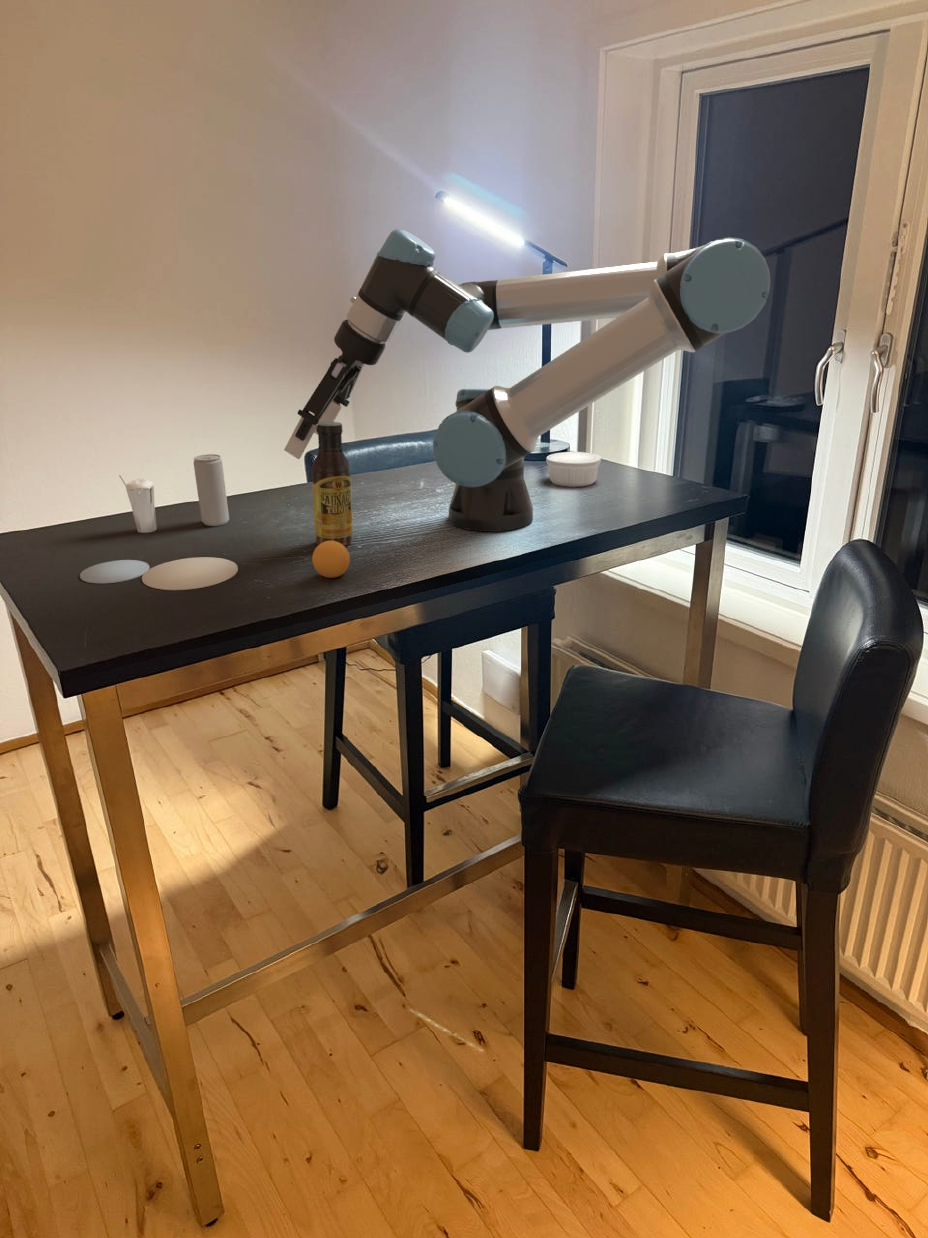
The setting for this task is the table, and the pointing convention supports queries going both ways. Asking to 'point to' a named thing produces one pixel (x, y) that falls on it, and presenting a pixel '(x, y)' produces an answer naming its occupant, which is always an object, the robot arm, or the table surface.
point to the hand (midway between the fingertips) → (305, 443)
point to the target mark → (189, 573)
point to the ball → (331, 559)
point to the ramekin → (573, 468)
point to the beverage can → (211, 489)
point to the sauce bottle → (332, 487)
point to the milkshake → (142, 504)
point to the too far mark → (114, 571)
